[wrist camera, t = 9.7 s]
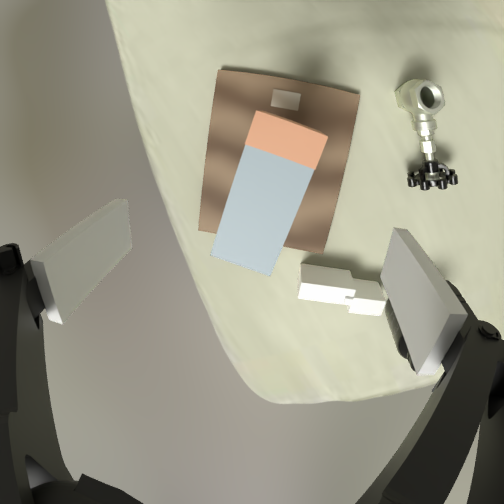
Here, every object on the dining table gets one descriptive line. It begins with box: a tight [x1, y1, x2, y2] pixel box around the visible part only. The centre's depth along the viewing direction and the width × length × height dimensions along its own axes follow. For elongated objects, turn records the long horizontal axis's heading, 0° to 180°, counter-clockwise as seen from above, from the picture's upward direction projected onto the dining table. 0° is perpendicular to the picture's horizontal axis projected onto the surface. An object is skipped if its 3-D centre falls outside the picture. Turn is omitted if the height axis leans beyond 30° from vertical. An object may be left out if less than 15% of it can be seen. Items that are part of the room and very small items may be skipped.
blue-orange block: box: [210, 110, 328, 276], centre depth 24 cm, size 5×11×6 cm, turn 162°
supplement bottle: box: [385, 300, 416, 372], centre depth 36 cm, size 7×7×12 cm
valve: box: [395, 79, 458, 190], centre depth 28 cm, size 7×7×12 cm
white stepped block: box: [298, 263, 386, 316], centre depth 39 cm, size 15×11×6 cm
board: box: [198, 70, 360, 254], centre depth 31 cm, size 20×16×9 cm
